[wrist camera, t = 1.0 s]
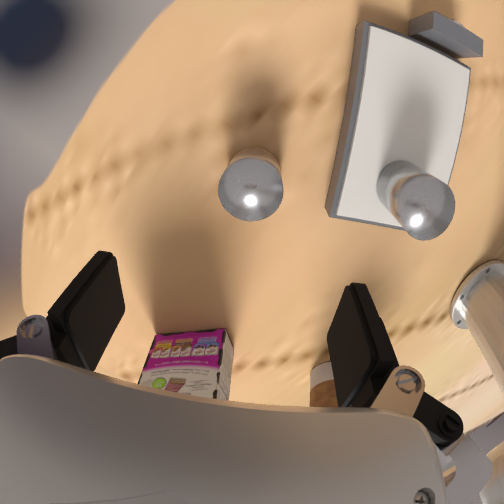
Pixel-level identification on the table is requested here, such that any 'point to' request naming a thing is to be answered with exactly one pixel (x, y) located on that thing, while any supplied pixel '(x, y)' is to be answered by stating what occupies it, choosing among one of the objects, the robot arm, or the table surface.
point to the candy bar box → (190, 363)
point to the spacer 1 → (251, 185)
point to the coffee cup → (322, 386)
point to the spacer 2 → (416, 199)
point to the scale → (400, 110)
